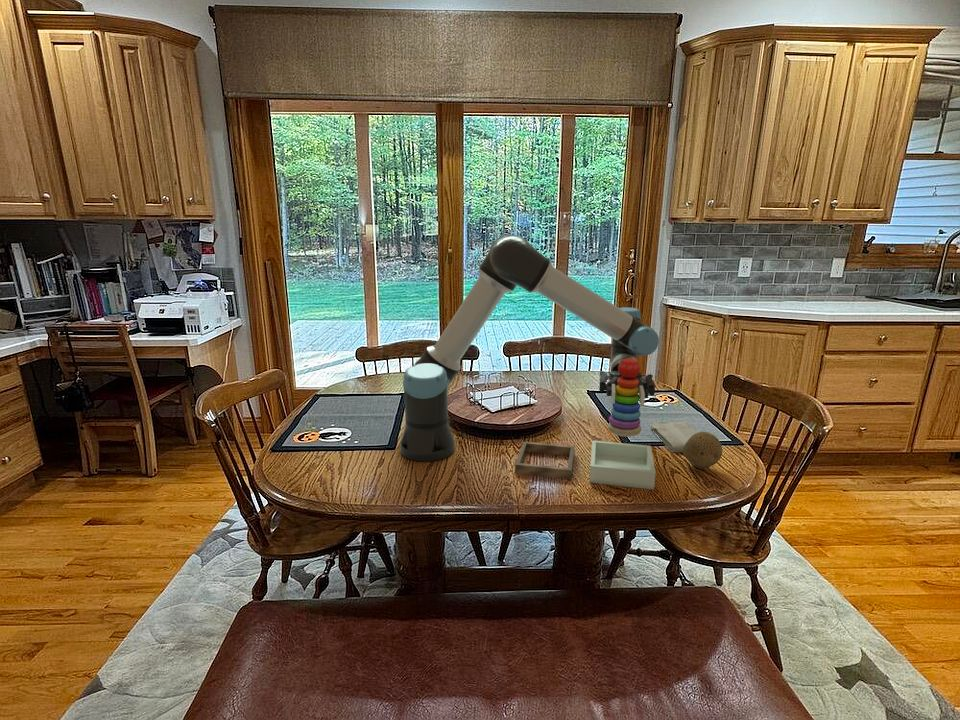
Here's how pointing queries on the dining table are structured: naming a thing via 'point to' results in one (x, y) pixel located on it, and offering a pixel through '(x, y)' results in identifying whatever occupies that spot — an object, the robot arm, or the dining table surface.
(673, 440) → the washcloth
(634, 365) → the stacking toy
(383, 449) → the dining table surface
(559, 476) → the walnut holder
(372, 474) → the dining table surface
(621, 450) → the sage tray
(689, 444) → the natural sponge
